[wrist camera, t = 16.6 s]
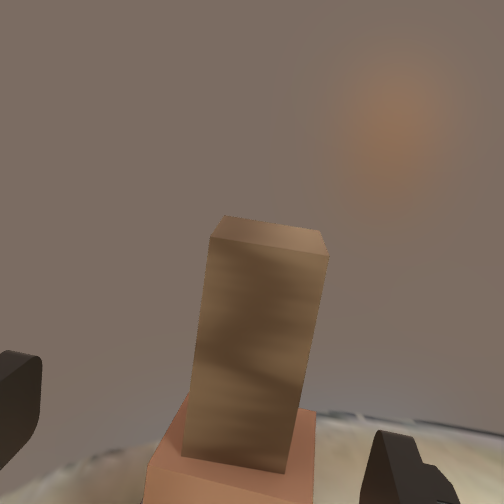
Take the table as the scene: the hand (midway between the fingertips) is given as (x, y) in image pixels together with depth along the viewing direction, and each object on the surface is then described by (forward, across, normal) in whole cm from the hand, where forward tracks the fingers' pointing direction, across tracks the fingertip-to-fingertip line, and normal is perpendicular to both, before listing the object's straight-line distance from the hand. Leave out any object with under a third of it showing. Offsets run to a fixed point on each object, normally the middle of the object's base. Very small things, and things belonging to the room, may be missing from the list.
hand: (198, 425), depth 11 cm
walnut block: (+10, 0, +7) cm, 12 cm away
